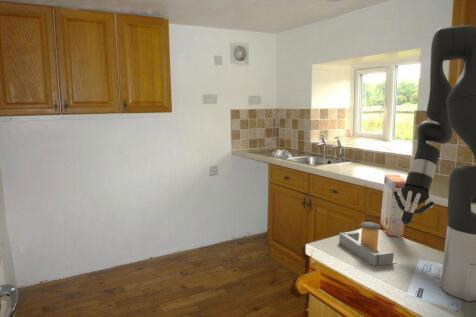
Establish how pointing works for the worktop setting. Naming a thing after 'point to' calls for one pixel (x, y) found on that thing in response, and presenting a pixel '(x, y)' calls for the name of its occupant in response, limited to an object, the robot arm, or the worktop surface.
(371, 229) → the orange cylinder
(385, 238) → the worktop surface
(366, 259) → the duct tray
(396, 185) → the cracker box
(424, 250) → the worktop surface
